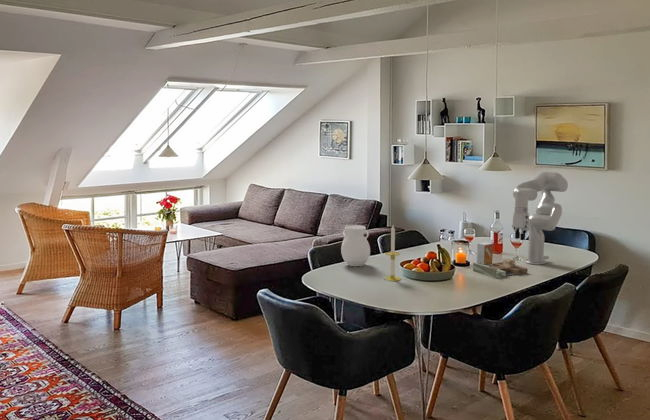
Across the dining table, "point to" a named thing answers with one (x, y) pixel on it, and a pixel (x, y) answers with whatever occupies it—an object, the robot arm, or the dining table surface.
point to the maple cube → (509, 262)
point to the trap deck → (499, 270)
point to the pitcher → (355, 245)
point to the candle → (392, 257)
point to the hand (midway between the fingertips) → (519, 238)
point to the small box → (484, 253)
